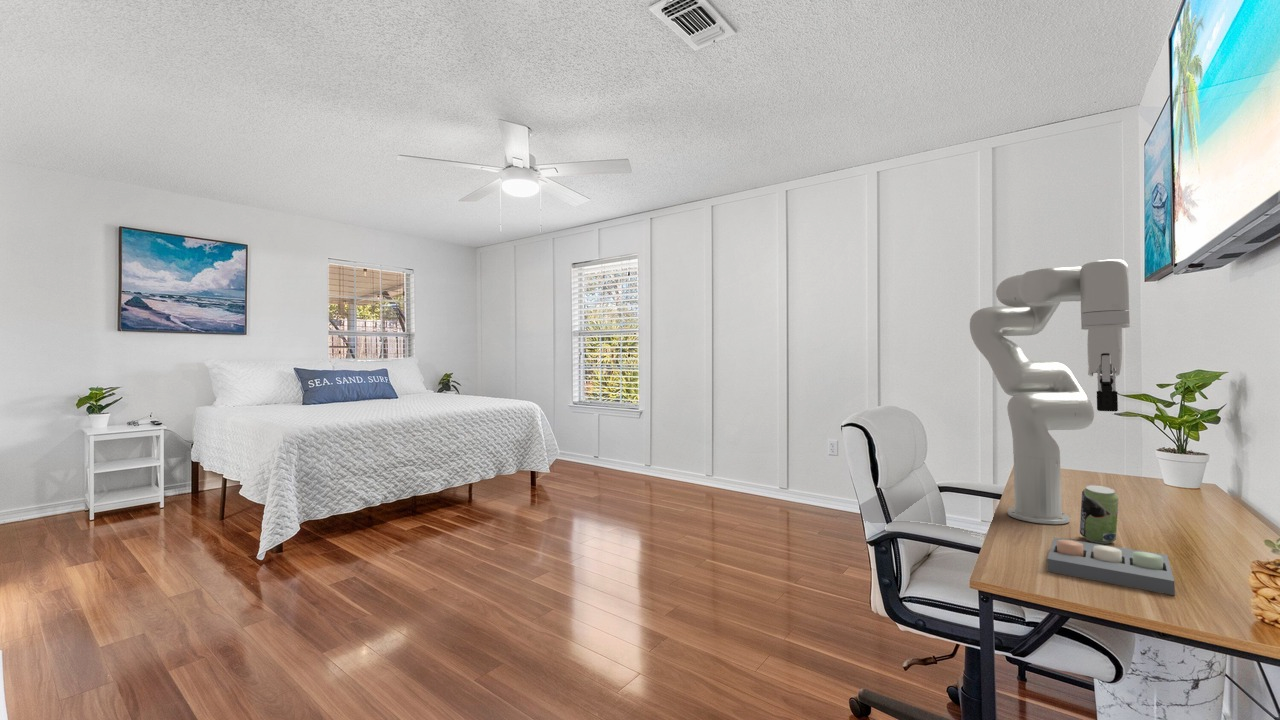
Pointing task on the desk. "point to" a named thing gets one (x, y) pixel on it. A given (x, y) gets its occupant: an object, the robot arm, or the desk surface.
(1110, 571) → the panel
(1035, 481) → the robot arm
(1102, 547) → the cream button
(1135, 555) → the sage button
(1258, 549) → the desk surface
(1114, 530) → the beverage can
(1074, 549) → the terracotta button
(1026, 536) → the desk surface
